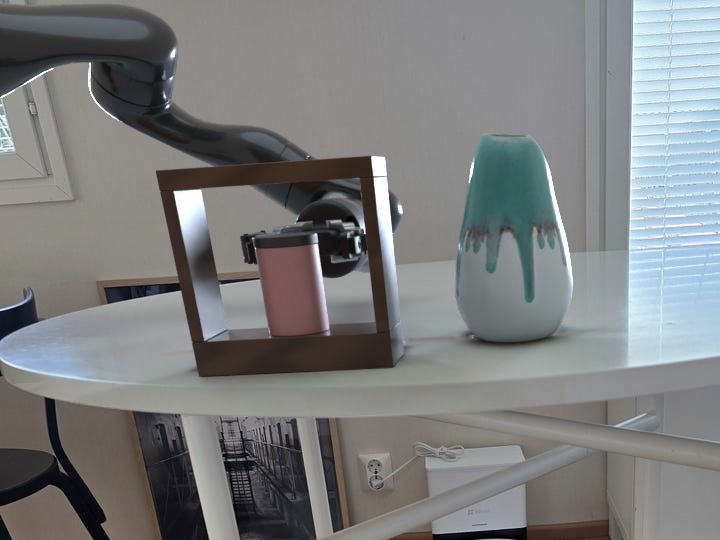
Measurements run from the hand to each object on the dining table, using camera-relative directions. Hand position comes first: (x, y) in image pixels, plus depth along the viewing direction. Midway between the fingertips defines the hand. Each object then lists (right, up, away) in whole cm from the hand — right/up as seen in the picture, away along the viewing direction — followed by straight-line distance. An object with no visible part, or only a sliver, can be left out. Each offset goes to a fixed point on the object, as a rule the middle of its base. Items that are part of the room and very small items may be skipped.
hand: (299, 249), depth 79 cm
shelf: (0, -10, +1) cm, 10 cm away
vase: (+20, -6, +7) cm, 22 cm away
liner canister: (0, -8, -1) cm, 8 cm away
